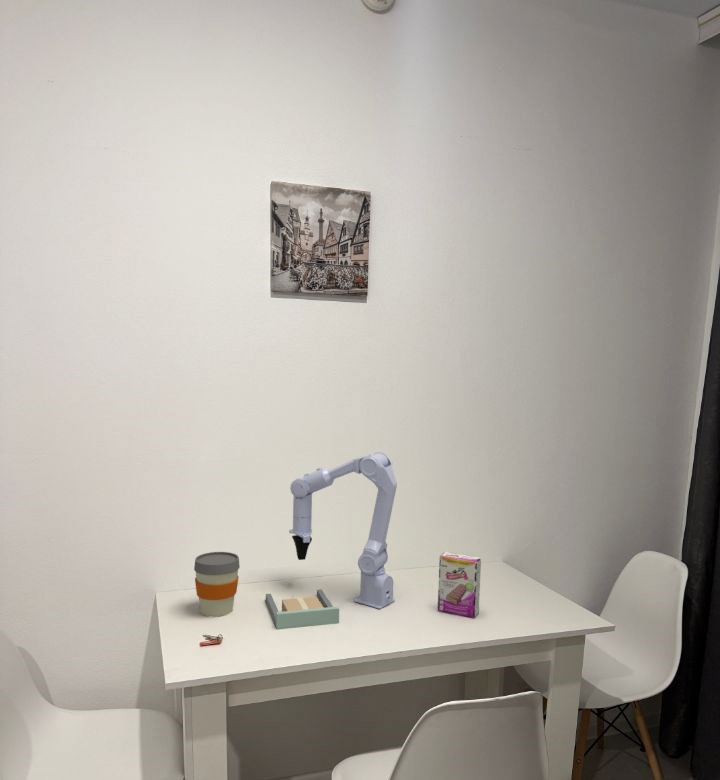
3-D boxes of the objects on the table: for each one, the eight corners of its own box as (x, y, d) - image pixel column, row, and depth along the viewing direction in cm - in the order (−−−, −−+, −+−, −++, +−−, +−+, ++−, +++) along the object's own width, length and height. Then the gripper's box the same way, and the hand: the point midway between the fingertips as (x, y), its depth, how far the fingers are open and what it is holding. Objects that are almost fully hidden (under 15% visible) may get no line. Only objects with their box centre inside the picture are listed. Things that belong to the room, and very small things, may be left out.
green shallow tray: (265, 600, 189) (265, 587, 188) (321, 595, 194) (321, 582, 193) (276, 629, 169) (277, 614, 169) (338, 622, 174) (339, 608, 174)
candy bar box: (436, 611, 183) (438, 555, 183) (442, 605, 188) (443, 551, 187) (475, 619, 179) (477, 561, 178) (479, 613, 183) (481, 556, 182)
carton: (281, 613, 180) (282, 599, 180) (316, 610, 183) (316, 596, 183) (287, 626, 172) (288, 611, 172) (323, 622, 175) (324, 608, 175)
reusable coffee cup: (200, 601, 187) (201, 550, 186) (243, 602, 187) (243, 552, 186) (187, 618, 174) (188, 564, 174) (233, 620, 174) (234, 566, 173)
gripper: (285, 511, 204) (284, 552, 204) (294, 522, 190) (293, 567, 190) (307, 510, 206) (306, 551, 206) (317, 521, 192) (316, 565, 192)
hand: (301, 559), depth 199 cm, fingers closed
